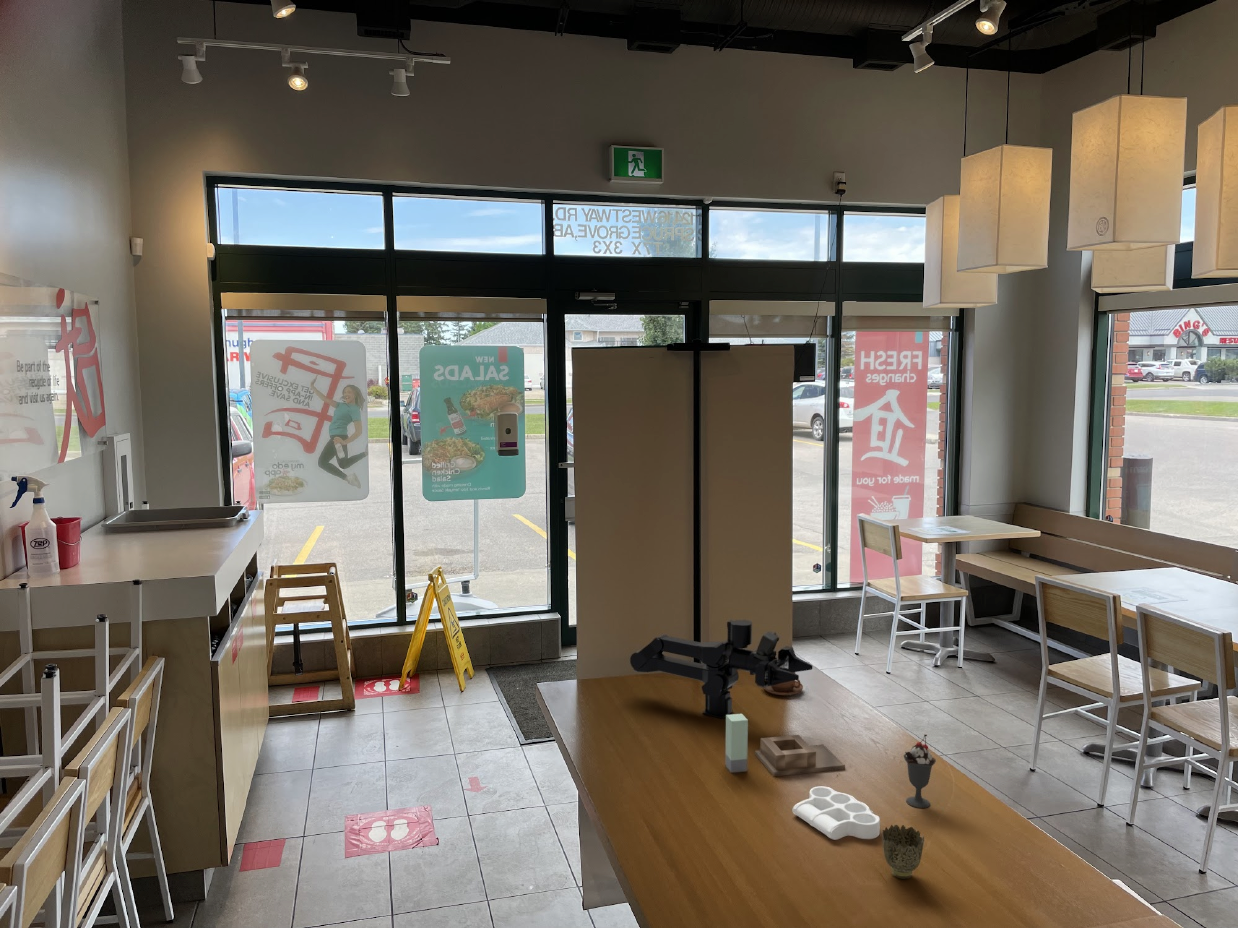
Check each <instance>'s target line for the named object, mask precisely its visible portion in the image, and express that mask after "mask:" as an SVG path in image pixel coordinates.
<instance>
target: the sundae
mask: <svg viewBox="0 0 1238 928" xmlns="http://www.w3.org/2000/svg"><path fill="white" fill-rule="evenodd" d="M926 737H928V734H923V738H922V739H921V741H917V742H916V744H915V745H912V747H911V748H910V750H909V751H905V752H904V754H903V758H904V760H905V762H906V764H907V775H908V780H909V783H910V784H911V785H912V786H913V787H914V788H915V794H914V796H909V797H907V798H906V800H905V802H906V803H907V805H909V806H911V807H912V808H916V809H926V808H929V807H930V806H931V802H930V801H929V800H928V799H926V798H924V797H922V789H923V788H926V787H927V786H928V784H929V782H930V779H931V772H932V767H933V766H934V765H935V763H936V762H937V760H936V758H935V757H933V755H932V753H931V752H930V750H928V749H929V746H928V745H927V740H926V739H927V738H926ZM923 741H924V744H923V743H922V742H923Z"/></svg>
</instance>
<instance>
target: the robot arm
mask: <svg viewBox="0 0 1238 928" xmlns="http://www.w3.org/2000/svg"><path fill="white" fill-rule="evenodd" d="M726 629H727V640H725V641H709V642H706V641H705V642H699V641H696V640H695V641H694V640H690V639H685V638H679V637H675V636H674V637H673V636H669V635H667V634H661V635H659V636H656V637H654V639H653V640H652V641H650V642H649V644H647V645H646V646H645V647H643V648H642V649H638V650H637V651H635V652H633V653H632V654H631V655H630V656H629V657H630V659H629V661H630V666H631V667H632V669H633V671H635V672H637V673H653V672H662V673H666V674H669V675H675V676H678V677H684V678H687V679H691V680H697V681H699V682H702V683H703V684H702V685H701V691H702V694H703V695H704V697H705V698H704V700H705V701H704V710H703V711H702V714H703V715H706V716H710V717H714V718H718V719H724V718H726V715H731V714H732V713H733V712H734V710H733V705H732V704H733V698H732V697H731V691H729V690H731V689H733V687H734V685H735V684H736V683H737V682H738V681H739V672H738V670H740V671H743V672H748V673H749V675H750V676H755V677H754V682H755V684H756V685H757V687H758V688H763V689H764V688H765V687H767V686H768V687H770V686H772V685H776V684H781V683H785V682H789V681H794V680H795V681H797V680H798V679H799V680H800V678H799V677H800V676H799V674H796V673H798V672H806V671H811V670H813V665H812V664H810V663H809V662H808V661H805V660H803V659H802V658H800V657H798V656H797V654H796V653H795V649H794V647H793V646H789V645H786V646H784V647H782V648H780V649H779V650H778V652H777V650H775V649H776V646H777V644H778V642H779V641H780V636H778V634H777V633H776V631H774V632H773V631H767V632H766V633H763V635H762V637H761V639H760V641H759V642H758V646H757V649H756V650H751V649H747V648H749V646H750V645H752V643H753V642H752V641H753V622H752V621H751V620H747V619H743V620H742V619H736V620H732V619H730V620H728V621H727V622H726ZM664 652H665V653H668V654H669V653H670V654H674V655H679V656H684V657H688V658H693V659H696V660H699V661H700V662H701V663H699V662H695V661H691V660H685V659H681V658H676V657H673V656H666V655H665V654H663V653H664ZM776 656H777V657H776ZM792 672H795V673H792Z"/></svg>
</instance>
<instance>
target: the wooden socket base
mask: <svg viewBox="0 0 1238 928" xmlns="http://www.w3.org/2000/svg"><path fill="white" fill-rule="evenodd" d="M754 755H755V756H756V758H757V759H758V760H759V761H760V763H762V765H763V766H764V767H765V768H766V770H768V772H769V773H770V774H771V776H773V777H780V776H791V775H801V774H808V773H809V774H810V773H819V772H820V773H821V772H828V771H840V770H846V764H844V763H843V762H842V760H840V759H839V758H838V757H837V756H836V755H835V754H834V753H833V752H832V750H831V751H830V750H829V748H827V746H825V745H824V744H822V743H821V744H812V745H810V744H809V743H808V742H807V741H805V739H804V738H803V737H802V736H801V735H799V734H794V735H791V734H790V735H782V736H771V737H770V736H769V737H760V747H759V750H755V751H754Z"/></svg>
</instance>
